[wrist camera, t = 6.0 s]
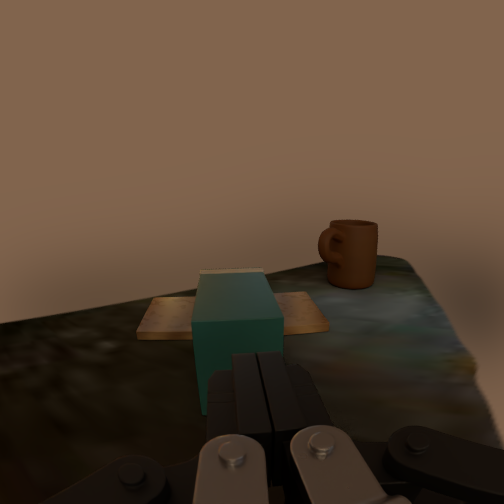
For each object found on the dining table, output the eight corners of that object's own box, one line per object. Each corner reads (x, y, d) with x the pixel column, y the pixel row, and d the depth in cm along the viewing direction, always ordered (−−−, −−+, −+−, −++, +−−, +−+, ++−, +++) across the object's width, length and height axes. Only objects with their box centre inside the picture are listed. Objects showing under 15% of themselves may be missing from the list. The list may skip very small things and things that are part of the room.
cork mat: (137, 339, 30) (135, 331, 30) (154, 304, 40) (154, 297, 40) (328, 331, 32) (329, 322, 32) (305, 298, 42) (305, 291, 41)
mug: (340, 302, 40) (344, 230, 38) (298, 289, 45) (299, 224, 43) (382, 282, 47) (386, 223, 45) (344, 272, 53) (346, 218, 51)
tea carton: (201, 415, 19) (189, 320, 18) (205, 342, 30) (200, 268, 28) (281, 411, 20) (285, 316, 18) (261, 339, 31) (261, 266, 29)
